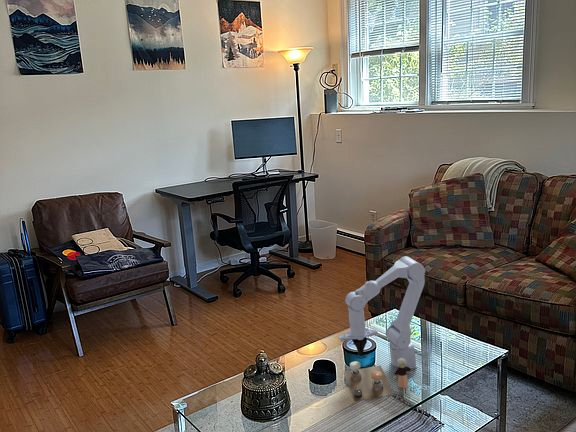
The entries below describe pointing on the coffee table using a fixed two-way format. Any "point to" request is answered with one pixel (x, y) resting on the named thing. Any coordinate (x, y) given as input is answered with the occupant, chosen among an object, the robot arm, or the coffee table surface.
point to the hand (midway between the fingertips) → (360, 354)
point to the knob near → (376, 376)
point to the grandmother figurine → (402, 373)
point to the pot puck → (358, 393)
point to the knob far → (355, 366)
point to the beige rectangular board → (368, 383)
